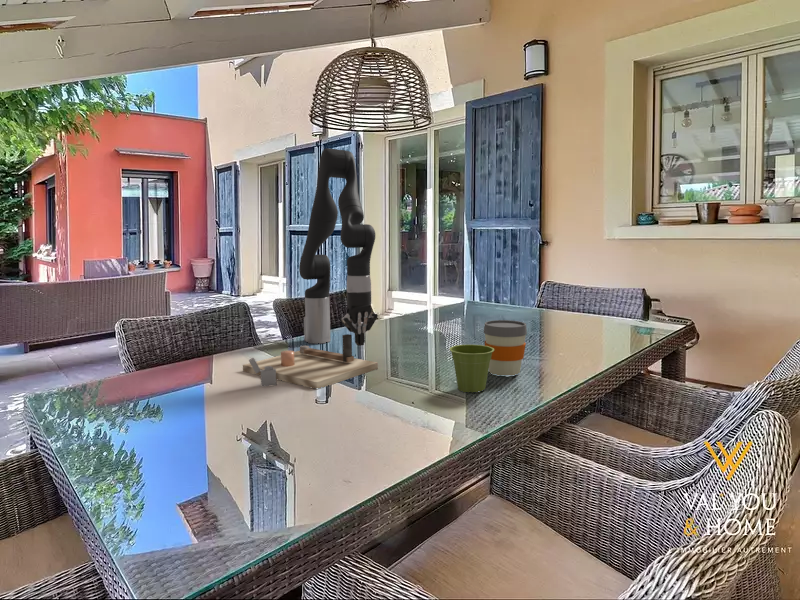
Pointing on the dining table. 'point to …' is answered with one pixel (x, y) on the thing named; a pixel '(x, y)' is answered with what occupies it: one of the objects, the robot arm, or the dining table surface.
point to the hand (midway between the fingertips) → (359, 345)
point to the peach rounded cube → (287, 358)
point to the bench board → (314, 369)
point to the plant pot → (471, 366)
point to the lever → (331, 355)
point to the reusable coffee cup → (505, 345)
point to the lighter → (265, 373)
